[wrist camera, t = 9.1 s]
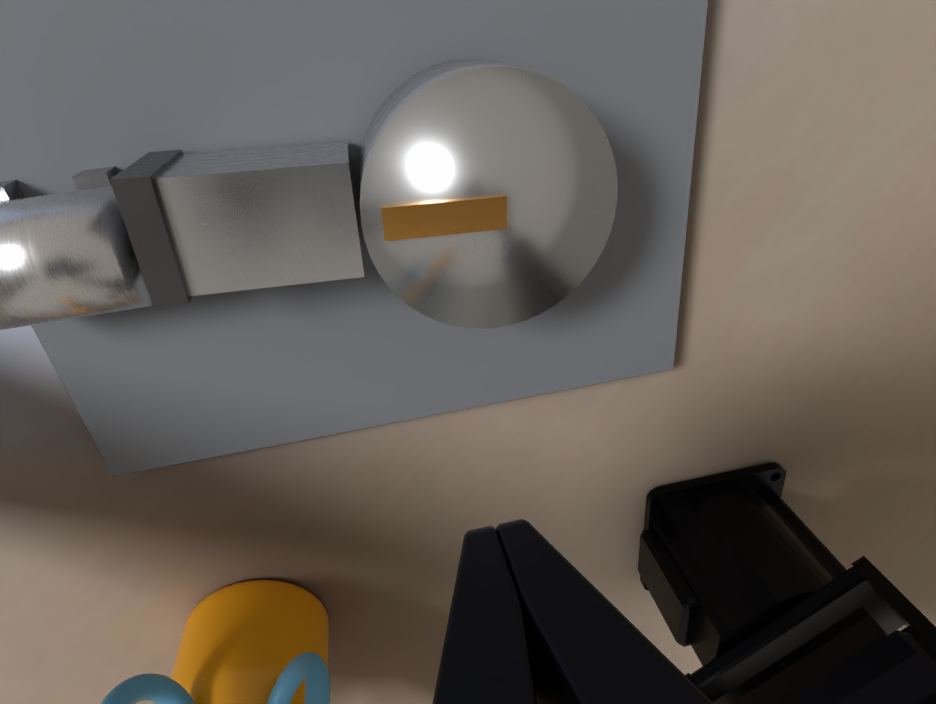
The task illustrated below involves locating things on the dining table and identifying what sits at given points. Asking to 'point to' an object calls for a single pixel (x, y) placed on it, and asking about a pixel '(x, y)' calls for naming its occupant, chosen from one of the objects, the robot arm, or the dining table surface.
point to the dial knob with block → (395, 202)
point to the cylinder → (245, 651)
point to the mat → (347, 119)
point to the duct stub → (66, 254)
